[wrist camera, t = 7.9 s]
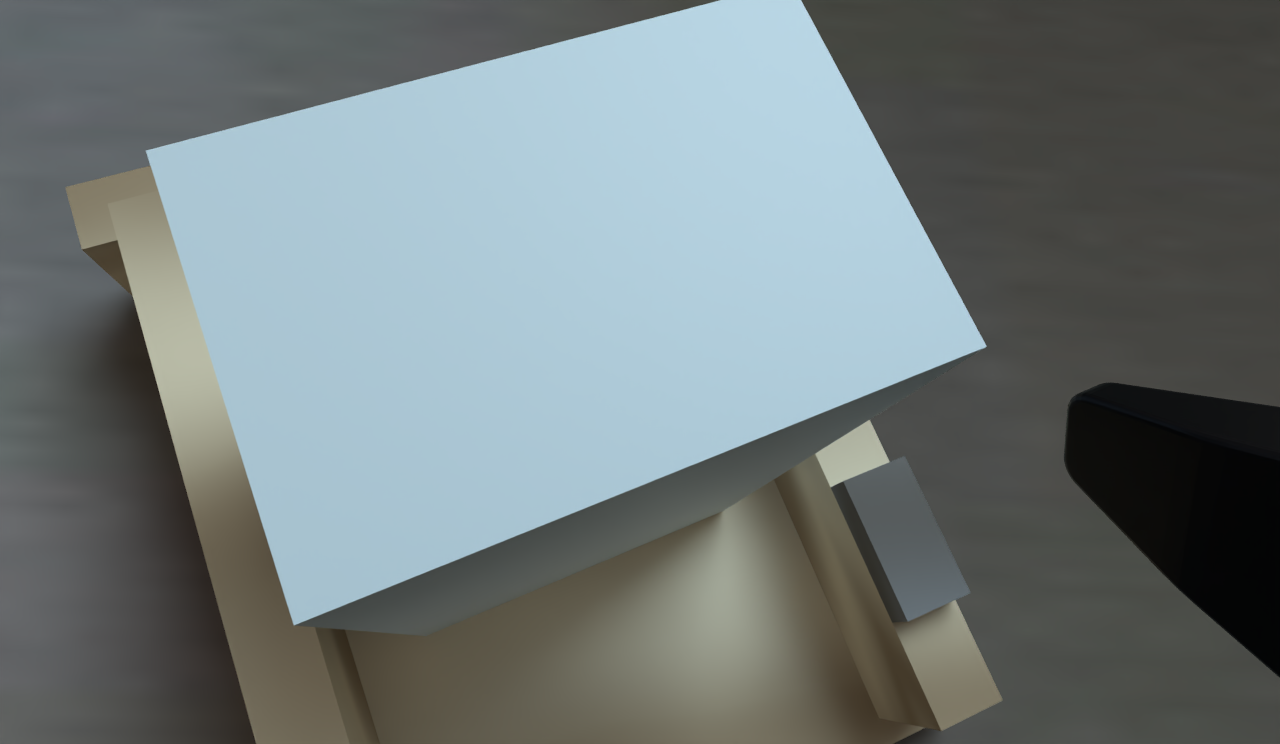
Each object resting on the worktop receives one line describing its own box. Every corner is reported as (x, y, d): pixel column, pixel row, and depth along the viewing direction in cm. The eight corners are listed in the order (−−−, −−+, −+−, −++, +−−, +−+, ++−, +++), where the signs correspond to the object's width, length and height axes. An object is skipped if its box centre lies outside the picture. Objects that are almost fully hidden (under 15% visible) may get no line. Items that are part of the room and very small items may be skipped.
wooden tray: (939, 701, 18) (1066, 719, 14) (353, 990, 15) (295, 1121, 11) (675, 128, 21) (715, 3, 17) (152, 275, 18) (46, 168, 14)
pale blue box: (723, 511, 17) (987, 346, 8) (426, 636, 16) (293, 625, 6) (643, 330, 18) (791, -19, 8) (355, 433, 16) (144, 150, 7)
